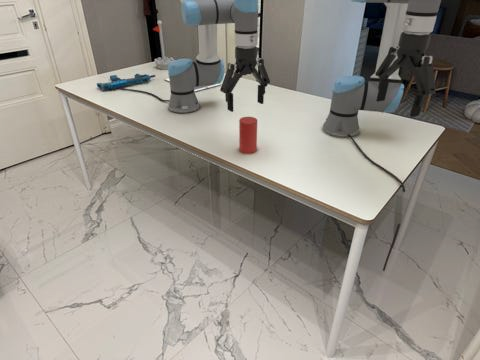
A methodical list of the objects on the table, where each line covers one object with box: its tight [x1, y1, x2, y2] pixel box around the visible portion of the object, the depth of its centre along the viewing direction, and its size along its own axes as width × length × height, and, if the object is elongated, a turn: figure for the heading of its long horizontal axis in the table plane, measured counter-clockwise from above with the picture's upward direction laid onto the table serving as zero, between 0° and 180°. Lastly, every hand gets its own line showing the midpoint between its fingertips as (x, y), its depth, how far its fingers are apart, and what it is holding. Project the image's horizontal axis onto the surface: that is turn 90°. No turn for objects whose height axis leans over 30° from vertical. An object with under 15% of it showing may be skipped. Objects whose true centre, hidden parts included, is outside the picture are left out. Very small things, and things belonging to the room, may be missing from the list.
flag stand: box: [152, 19, 175, 70], centre depth 230 cm, size 13×13×30 cm
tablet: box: [164, 77, 222, 93], centre depth 209 cm, size 32×20×1 cm, turn 41°
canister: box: [238, 116, 258, 155], centre depth 132 cm, size 7×7×13 cm
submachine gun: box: [96, 73, 156, 91], centre depth 208 cm, size 34×4×25 cm
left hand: (245, 106), depth 125 cm, fingers open, 13 cm apart
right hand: (396, 108), depth 102 cm, fingers open, 13 cm apart
